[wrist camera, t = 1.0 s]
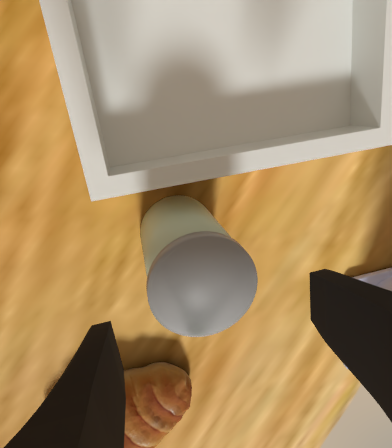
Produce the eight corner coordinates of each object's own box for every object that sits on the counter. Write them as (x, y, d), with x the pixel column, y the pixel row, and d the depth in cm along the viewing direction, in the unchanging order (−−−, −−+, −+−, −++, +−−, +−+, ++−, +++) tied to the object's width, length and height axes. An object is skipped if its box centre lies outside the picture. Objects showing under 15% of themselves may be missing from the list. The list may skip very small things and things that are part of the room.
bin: (367, -136, 16) (418, -185, 14) (359, 138, 21) (396, 143, 18) (18, -119, 14) (-7, -175, 11) (95, 187, 19) (91, 201, 16)
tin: (209, 187, 20) (253, 225, 13) (218, 257, 22) (261, 321, 15) (131, 201, 19) (137, 250, 13) (146, 273, 21) (158, 348, 14)
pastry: (159, 331, 23) (167, 374, 19) (206, 392, 25) (220, 439, 22) (37, 405, 23) (23, 461, 19) (97, 458, 25) (93, 516, 22)
